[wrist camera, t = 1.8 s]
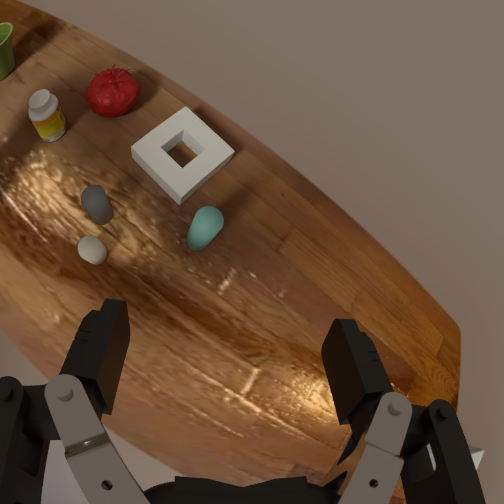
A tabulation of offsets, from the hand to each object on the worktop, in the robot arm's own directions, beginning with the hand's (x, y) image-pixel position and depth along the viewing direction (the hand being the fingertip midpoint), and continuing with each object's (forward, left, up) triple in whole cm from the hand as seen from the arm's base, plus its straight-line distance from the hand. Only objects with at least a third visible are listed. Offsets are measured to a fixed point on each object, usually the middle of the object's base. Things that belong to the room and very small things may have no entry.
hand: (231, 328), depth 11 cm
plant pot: (+4, +67, -36) cm, 76 cm away
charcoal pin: (+2, +19, -36) cm, 41 cm away
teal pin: (+10, +5, -36) cm, 38 cm away
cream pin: (-3, +15, -36) cm, 39 cm away
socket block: (+18, +17, -36) cm, 44 cm away
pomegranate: (+17, +35, -36) cm, 54 cm away
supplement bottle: (+5, +39, -36) cm, 54 cm away
